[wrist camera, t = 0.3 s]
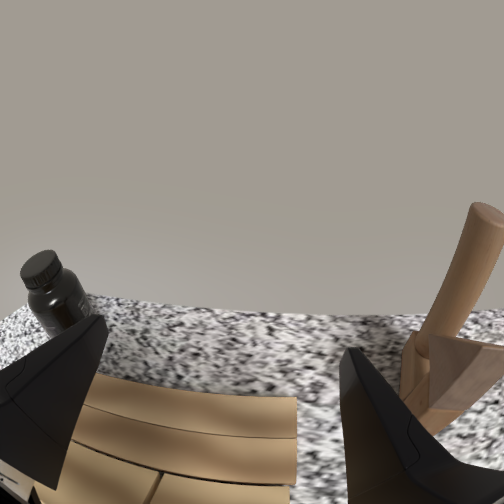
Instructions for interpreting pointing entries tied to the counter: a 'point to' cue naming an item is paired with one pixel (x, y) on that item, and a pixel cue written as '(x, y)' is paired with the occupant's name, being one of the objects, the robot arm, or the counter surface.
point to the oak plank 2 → (215, 492)
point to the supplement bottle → (54, 293)
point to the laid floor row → (192, 431)
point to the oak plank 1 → (99, 480)
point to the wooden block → (455, 332)
